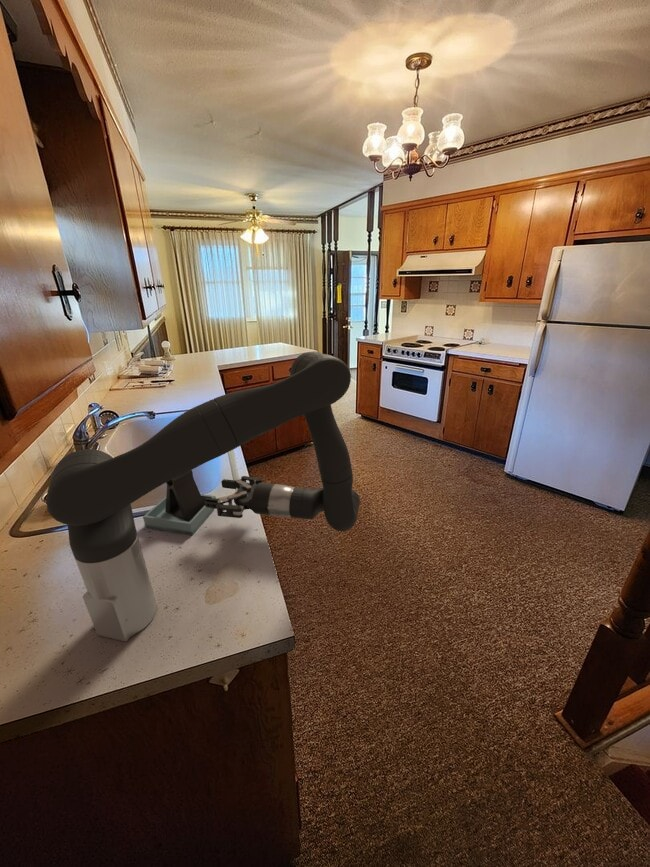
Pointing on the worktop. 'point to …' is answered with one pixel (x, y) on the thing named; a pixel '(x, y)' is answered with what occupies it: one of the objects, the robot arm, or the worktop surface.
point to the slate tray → (175, 519)
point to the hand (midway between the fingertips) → (213, 492)
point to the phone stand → (183, 497)
